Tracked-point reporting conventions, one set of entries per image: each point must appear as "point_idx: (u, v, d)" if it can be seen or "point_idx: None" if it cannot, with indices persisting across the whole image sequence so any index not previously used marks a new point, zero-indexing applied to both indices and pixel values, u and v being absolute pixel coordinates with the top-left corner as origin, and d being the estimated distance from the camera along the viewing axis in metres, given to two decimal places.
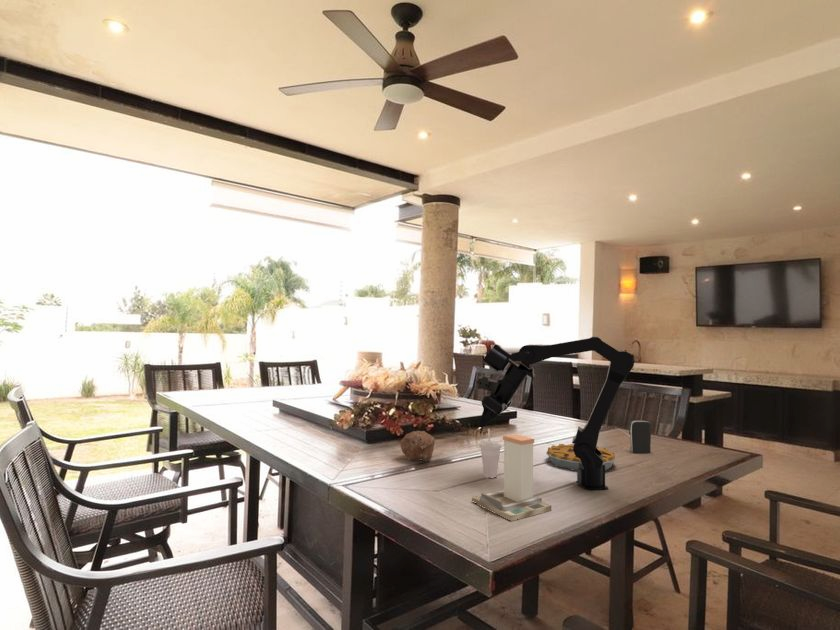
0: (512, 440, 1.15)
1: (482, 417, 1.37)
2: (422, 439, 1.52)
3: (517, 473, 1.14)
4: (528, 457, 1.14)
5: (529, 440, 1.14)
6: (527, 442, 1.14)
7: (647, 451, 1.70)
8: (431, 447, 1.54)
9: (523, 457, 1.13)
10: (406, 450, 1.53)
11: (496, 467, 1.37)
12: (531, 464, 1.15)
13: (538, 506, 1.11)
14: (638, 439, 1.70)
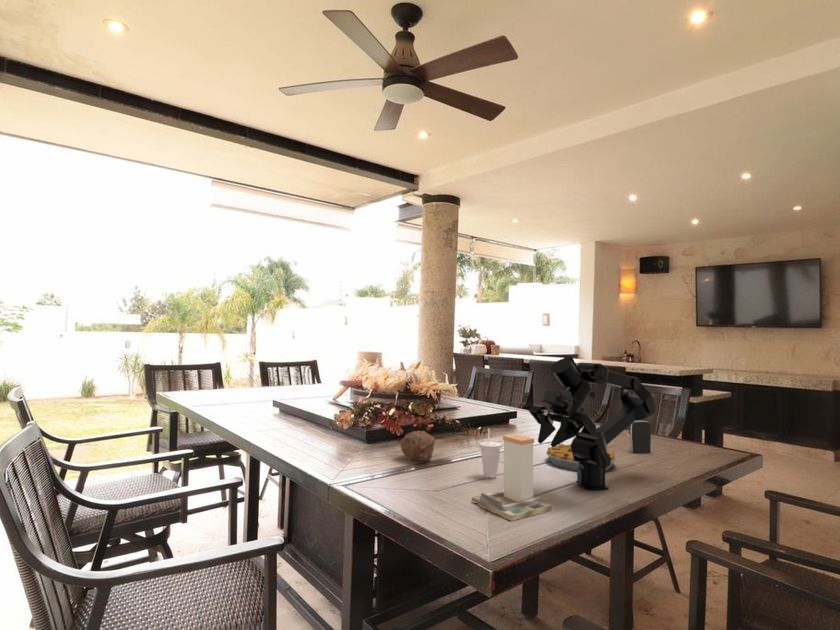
0: (512, 440, 1.15)
1: (559, 435, 1.20)
2: (422, 439, 1.52)
3: (517, 473, 1.14)
4: (528, 457, 1.14)
5: (529, 440, 1.14)
6: (527, 442, 1.14)
7: (647, 451, 1.70)
8: (431, 447, 1.54)
9: (523, 457, 1.13)
10: (406, 450, 1.53)
11: (496, 467, 1.37)
12: (531, 464, 1.15)
13: (538, 506, 1.11)
14: (638, 439, 1.70)
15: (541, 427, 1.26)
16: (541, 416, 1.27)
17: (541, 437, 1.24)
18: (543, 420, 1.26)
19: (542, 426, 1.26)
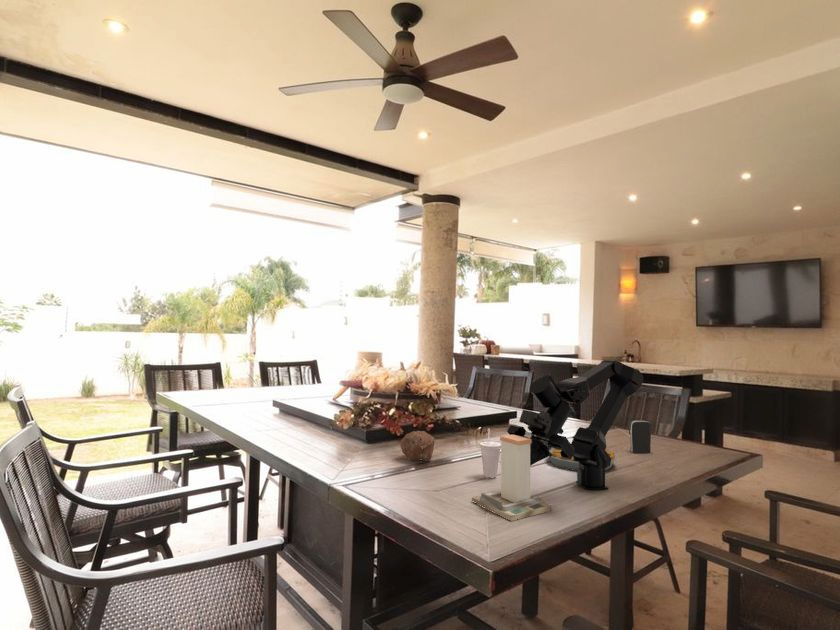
0: (509, 440, 1.15)
1: (530, 457, 1.17)
2: (422, 440, 1.52)
3: (514, 473, 1.14)
4: (525, 457, 1.14)
5: (526, 440, 1.14)
6: (524, 442, 1.14)
7: (647, 451, 1.70)
8: (431, 447, 1.54)
9: (520, 458, 1.13)
10: (406, 450, 1.53)
11: (496, 467, 1.37)
12: (528, 465, 1.14)
13: (538, 506, 1.11)
14: (638, 439, 1.70)
15: None
16: None
17: None
18: None
19: None
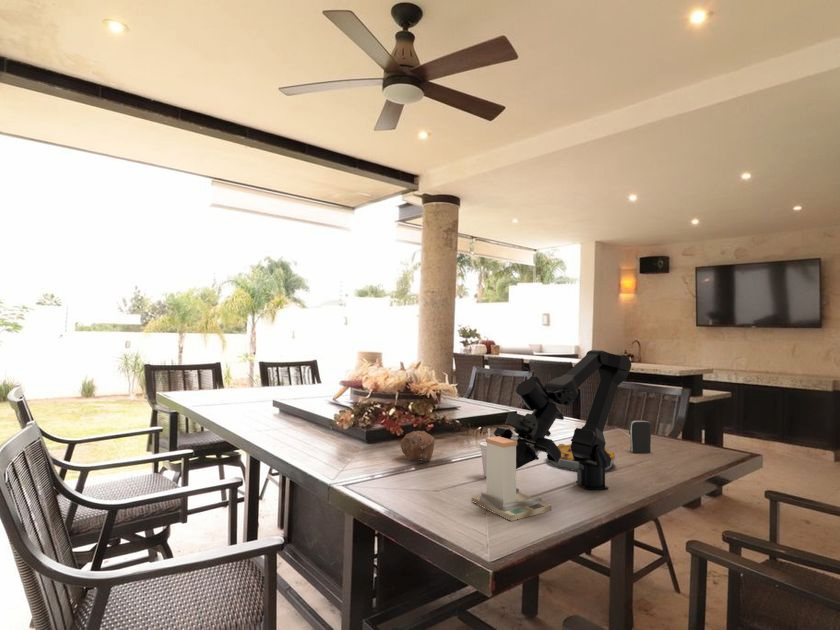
0: (494, 443, 1.12)
1: (516, 460, 1.15)
2: (422, 439, 1.52)
3: (499, 476, 1.11)
4: (511, 460, 1.11)
5: (512, 443, 1.11)
6: (510, 445, 1.11)
7: (647, 451, 1.70)
8: (431, 447, 1.54)
9: (505, 460, 1.10)
10: (406, 450, 1.53)
11: None
12: (514, 467, 1.12)
13: (538, 506, 1.11)
14: (638, 439, 1.70)
15: None
16: None
17: None
18: None
19: None
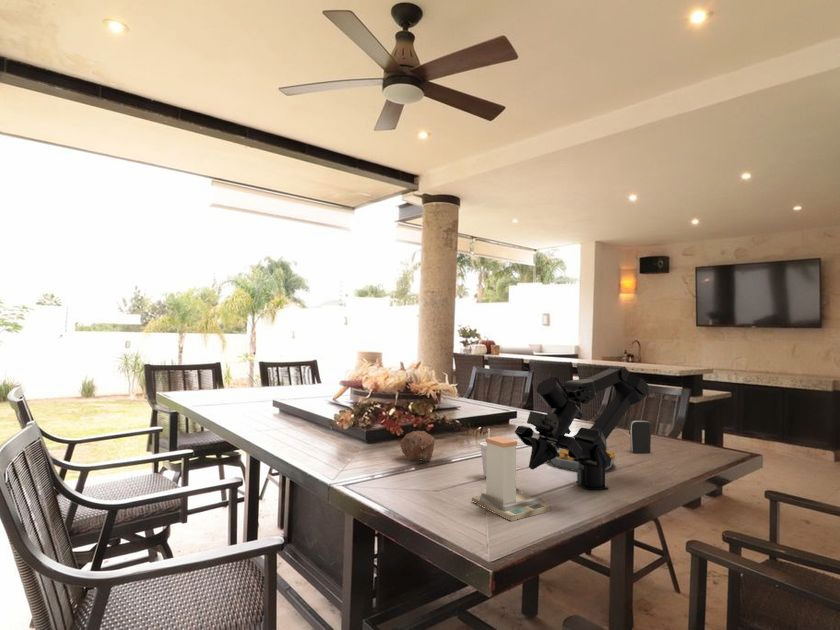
0: (494, 443, 1.12)
1: (538, 457, 1.19)
2: (422, 439, 1.52)
3: (499, 476, 1.11)
4: (511, 460, 1.11)
5: (512, 443, 1.11)
6: (510, 445, 1.11)
7: (647, 451, 1.70)
8: (431, 447, 1.54)
9: (505, 460, 1.10)
10: (406, 450, 1.53)
11: None
12: (514, 467, 1.12)
13: (538, 506, 1.11)
14: (638, 439, 1.70)
15: (532, 451, 1.21)
16: (532, 440, 1.22)
17: None
18: (534, 443, 1.21)
19: (533, 450, 1.21)
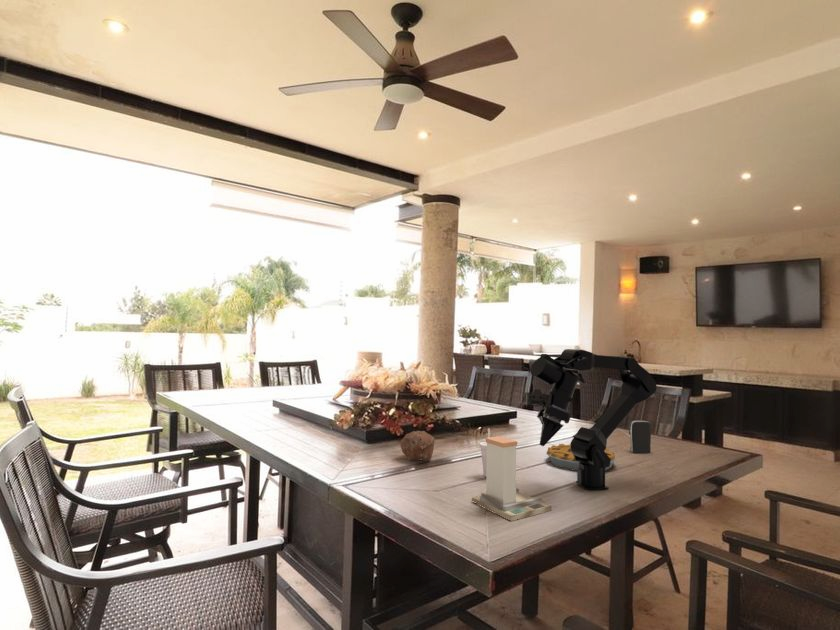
0: (494, 443, 1.12)
1: (544, 433, 1.25)
2: (422, 440, 1.52)
3: (499, 476, 1.11)
4: (511, 460, 1.11)
5: (512, 443, 1.11)
6: (510, 445, 1.11)
7: (647, 451, 1.70)
8: (431, 447, 1.54)
9: (505, 460, 1.10)
10: (406, 450, 1.53)
11: None
12: (514, 467, 1.12)
13: (538, 506, 1.11)
14: (638, 439, 1.70)
15: None
16: (539, 419, 1.29)
17: None
18: (541, 422, 1.28)
19: (542, 428, 1.27)
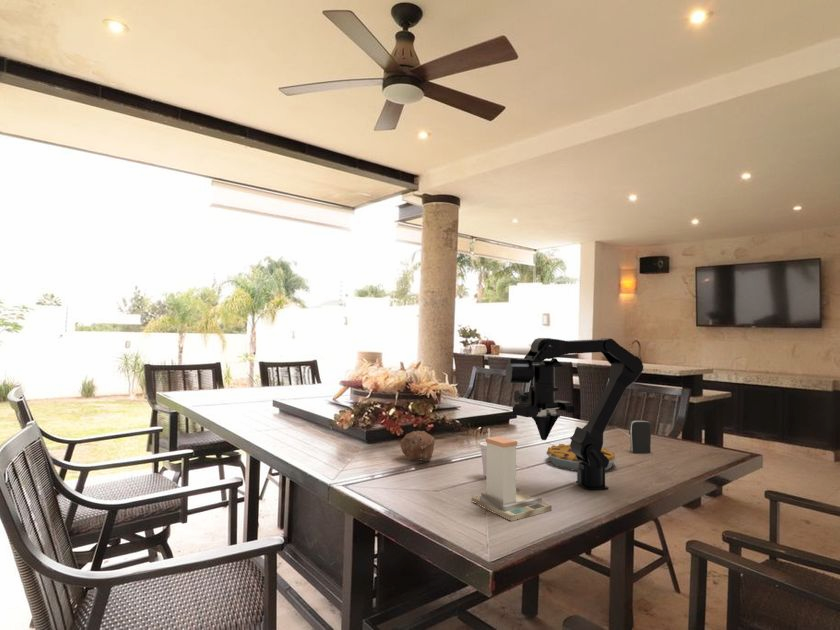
0: (494, 443, 1.12)
1: (539, 428, 1.30)
2: (422, 440, 1.52)
3: (499, 476, 1.11)
4: (511, 460, 1.11)
5: (512, 443, 1.11)
6: (510, 445, 1.11)
7: (647, 451, 1.70)
8: (431, 447, 1.54)
9: (505, 460, 1.10)
10: (406, 450, 1.53)
11: None
12: (514, 467, 1.12)
13: (538, 506, 1.11)
14: (638, 439, 1.70)
15: None
16: None
17: None
18: None
19: None
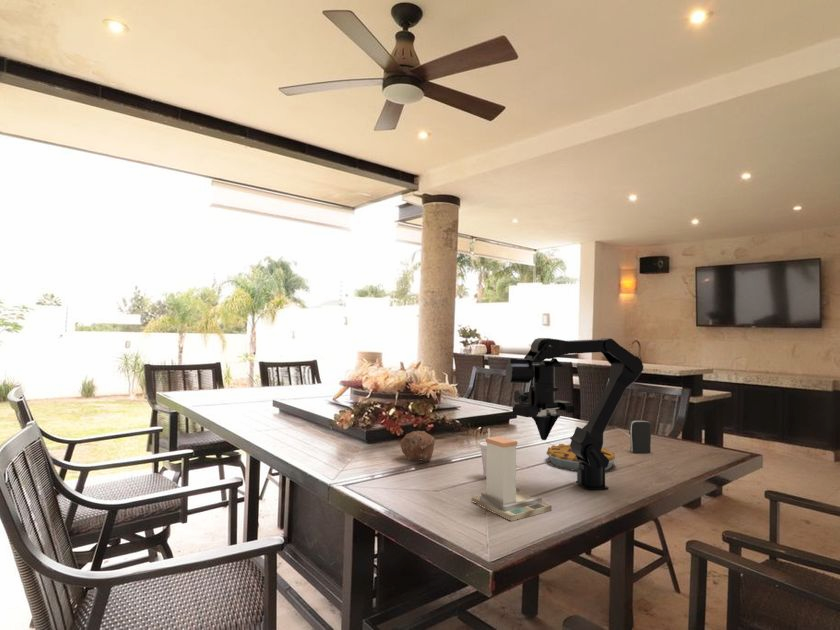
0: (494, 443, 1.12)
1: (539, 428, 1.30)
2: (422, 439, 1.52)
3: (499, 476, 1.11)
4: (511, 460, 1.11)
5: (512, 443, 1.11)
6: (510, 445, 1.11)
7: (647, 451, 1.70)
8: (431, 447, 1.54)
9: (505, 460, 1.10)
10: (406, 450, 1.53)
11: None
12: (514, 467, 1.12)
13: (538, 506, 1.11)
14: (638, 439, 1.70)
15: None
16: None
17: None
18: None
19: None
